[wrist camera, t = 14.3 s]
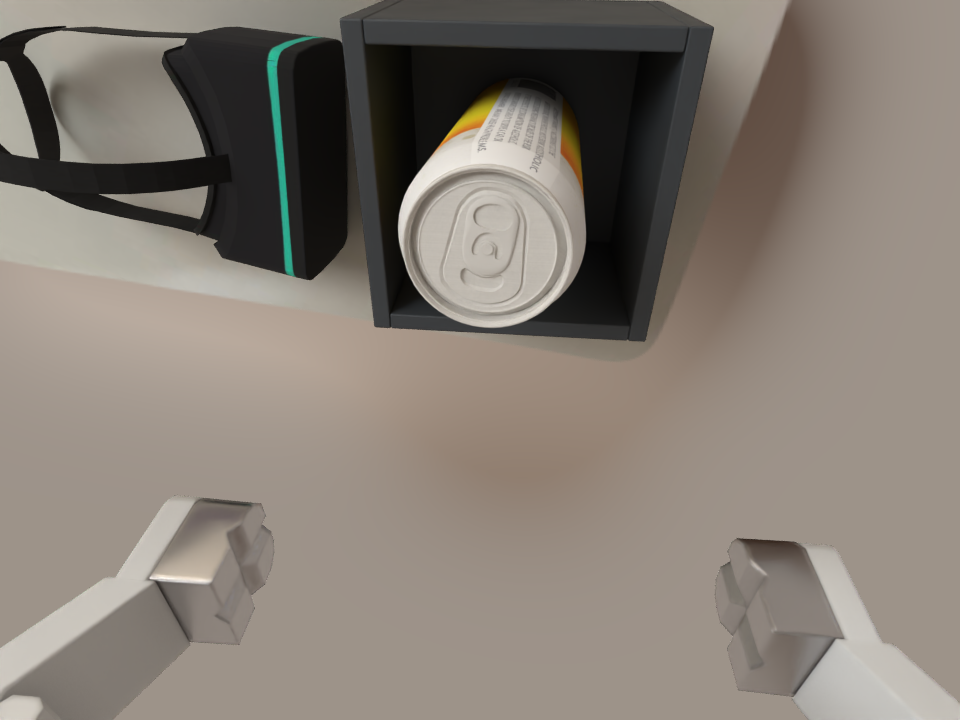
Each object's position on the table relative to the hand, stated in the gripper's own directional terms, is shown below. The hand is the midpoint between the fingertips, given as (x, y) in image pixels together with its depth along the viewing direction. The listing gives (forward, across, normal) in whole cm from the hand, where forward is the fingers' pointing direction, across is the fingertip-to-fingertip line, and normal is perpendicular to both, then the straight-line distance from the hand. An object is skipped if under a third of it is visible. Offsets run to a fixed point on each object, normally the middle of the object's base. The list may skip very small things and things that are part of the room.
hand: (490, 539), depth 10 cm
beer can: (+25, 0, 0) cm, 25 cm away
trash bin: (+26, 0, 0) cm, 26 cm away
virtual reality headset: (+26, +18, 0) cm, 31 cm away
